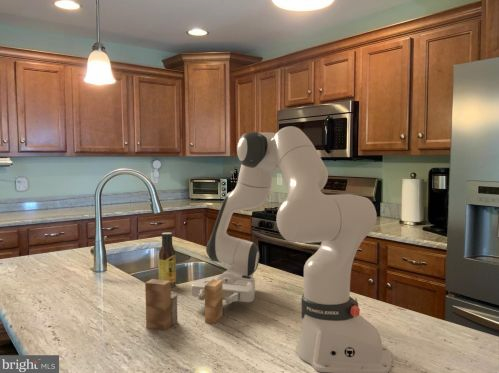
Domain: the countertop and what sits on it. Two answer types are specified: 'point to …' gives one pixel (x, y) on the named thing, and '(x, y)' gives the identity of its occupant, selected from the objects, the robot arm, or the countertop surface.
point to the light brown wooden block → (213, 301)
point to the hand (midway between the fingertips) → (213, 299)
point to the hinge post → (160, 304)
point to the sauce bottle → (167, 259)
